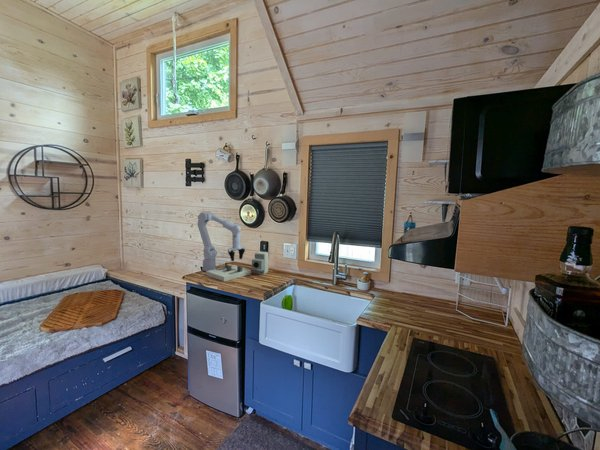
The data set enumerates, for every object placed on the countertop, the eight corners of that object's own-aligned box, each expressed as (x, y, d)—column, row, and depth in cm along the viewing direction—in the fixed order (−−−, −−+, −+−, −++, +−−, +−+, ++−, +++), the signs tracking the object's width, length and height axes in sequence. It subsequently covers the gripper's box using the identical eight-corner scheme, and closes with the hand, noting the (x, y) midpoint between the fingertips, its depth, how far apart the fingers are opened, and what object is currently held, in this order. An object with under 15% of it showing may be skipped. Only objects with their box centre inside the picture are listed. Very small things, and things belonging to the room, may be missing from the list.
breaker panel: (206, 275, 202) (206, 266, 202) (233, 268, 221) (233, 260, 220) (224, 281, 190) (224, 271, 189) (251, 273, 209) (251, 265, 208)
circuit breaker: (250, 275, 205) (251, 255, 203) (259, 270, 218) (259, 251, 217) (260, 276, 203) (260, 256, 201) (268, 271, 216) (268, 252, 214)
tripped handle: (226, 269, 205) (226, 264, 205) (228, 269, 207) (228, 263, 206) (229, 270, 204) (229, 265, 203) (231, 270, 205) (231, 264, 205)
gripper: (232, 243, 200) (232, 262, 202) (247, 241, 212) (247, 259, 213) (225, 242, 204) (226, 261, 206) (241, 239, 216) (241, 257, 217)
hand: (236, 259), depth 210 cm, fingers open, 7 cm apart
